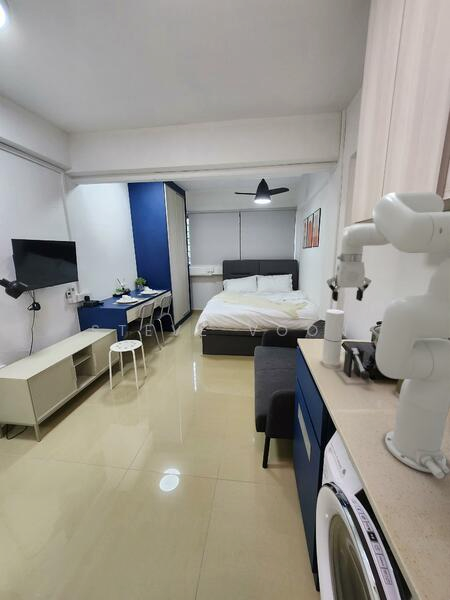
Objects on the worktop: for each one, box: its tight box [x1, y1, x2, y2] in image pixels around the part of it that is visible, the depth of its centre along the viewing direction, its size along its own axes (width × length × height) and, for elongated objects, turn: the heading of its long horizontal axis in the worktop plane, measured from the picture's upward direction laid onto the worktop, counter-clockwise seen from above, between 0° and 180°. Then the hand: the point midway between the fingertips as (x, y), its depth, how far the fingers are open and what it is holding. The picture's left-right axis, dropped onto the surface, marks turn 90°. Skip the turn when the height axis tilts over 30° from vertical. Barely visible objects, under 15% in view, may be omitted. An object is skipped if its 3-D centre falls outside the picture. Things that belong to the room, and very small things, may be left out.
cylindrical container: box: [321, 308, 345, 367], centre depth 106 cm, size 7×7×25 cm
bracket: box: [342, 345, 365, 378], centre depth 97 cm, size 10×9×13 cm
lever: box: [350, 347, 371, 381], centre depth 92 cm, size 13×3×3 cm
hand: (346, 300), depth 100 cm, fingers open, 9 cm apart
